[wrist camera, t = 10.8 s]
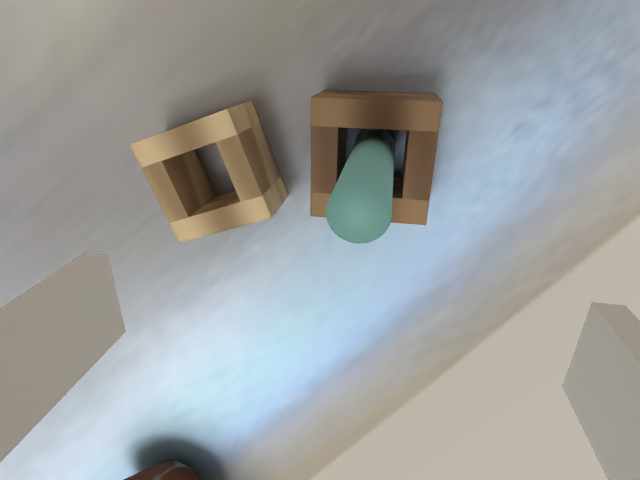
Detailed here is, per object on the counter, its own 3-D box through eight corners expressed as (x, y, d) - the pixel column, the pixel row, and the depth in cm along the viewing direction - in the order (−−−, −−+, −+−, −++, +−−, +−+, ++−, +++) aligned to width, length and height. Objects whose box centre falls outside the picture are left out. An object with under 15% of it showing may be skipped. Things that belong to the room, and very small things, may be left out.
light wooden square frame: (206, 219, 36) (179, 243, 32) (165, 131, 34) (129, 144, 29) (288, 195, 34) (271, 218, 30) (251, 100, 31) (226, 108, 27)
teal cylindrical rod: (353, 165, 32) (324, 240, 20) (356, 126, 31) (327, 179, 18) (392, 168, 32) (388, 246, 19) (396, 128, 30) (395, 184, 18)
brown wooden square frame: (322, 193, 34) (310, 216, 29) (324, 90, 30) (310, 97, 26) (422, 200, 32) (425, 224, 28) (435, 93, 29) (442, 102, 24)
